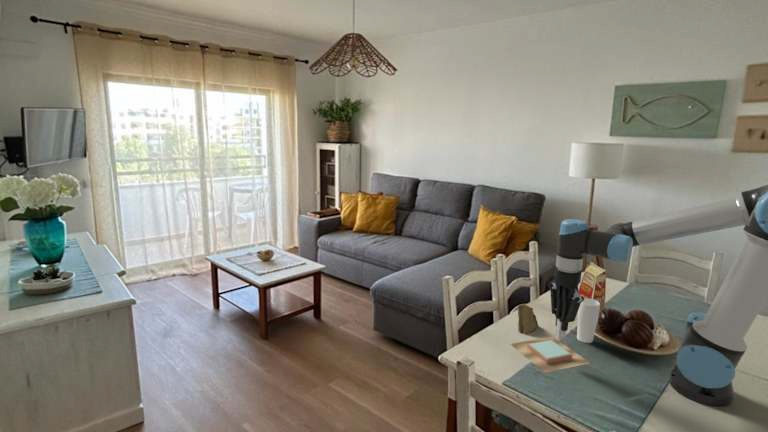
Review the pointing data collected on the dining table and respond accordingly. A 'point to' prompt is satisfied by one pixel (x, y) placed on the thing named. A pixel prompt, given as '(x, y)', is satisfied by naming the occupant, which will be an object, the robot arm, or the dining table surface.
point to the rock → (526, 319)
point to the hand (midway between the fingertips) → (560, 337)
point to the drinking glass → (587, 320)
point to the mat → (549, 367)
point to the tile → (549, 351)
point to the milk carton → (594, 284)
